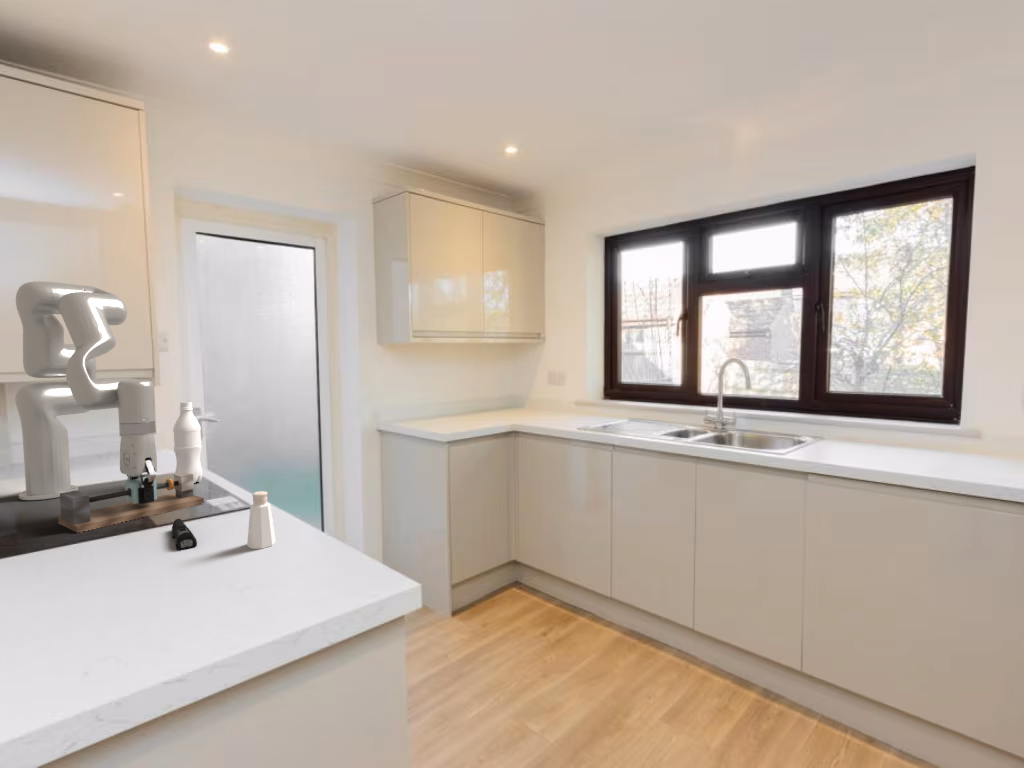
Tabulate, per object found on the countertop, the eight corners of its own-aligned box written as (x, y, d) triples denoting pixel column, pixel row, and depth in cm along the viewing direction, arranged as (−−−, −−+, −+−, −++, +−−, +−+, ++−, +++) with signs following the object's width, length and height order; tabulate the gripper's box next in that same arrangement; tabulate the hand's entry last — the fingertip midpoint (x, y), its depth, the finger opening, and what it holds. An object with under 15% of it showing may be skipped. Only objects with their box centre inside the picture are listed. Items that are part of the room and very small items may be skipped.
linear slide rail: (77, 533, 118) (76, 499, 117) (58, 523, 124) (56, 492, 124) (203, 503, 140) (202, 475, 139) (181, 496, 147) (180, 470, 146)
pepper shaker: (247, 551, 107) (245, 497, 106) (246, 542, 111) (245, 491, 111) (276, 546, 109) (275, 494, 108) (275, 538, 114) (273, 488, 113)
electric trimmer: (188, 529, 121) (187, 516, 121) (197, 548, 109) (197, 533, 109) (169, 533, 119) (168, 519, 119) (176, 552, 107) (175, 537, 106)
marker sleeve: (134, 503, 130) (133, 483, 129) (125, 500, 132) (124, 480, 132) (157, 499, 134) (156, 479, 133) (148, 496, 136) (147, 476, 136)
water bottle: (190, 487, 157) (186, 403, 156) (169, 485, 159) (166, 403, 157) (208, 481, 164) (205, 401, 163) (188, 480, 166) (185, 400, 164)
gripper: (106, 428, 134) (110, 499, 135) (135, 434, 124) (139, 510, 125) (140, 424, 140) (143, 492, 141) (170, 430, 130) (173, 502, 131)
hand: (141, 500), depth 133 cm, fingers closed on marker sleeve, 5 cm apart
